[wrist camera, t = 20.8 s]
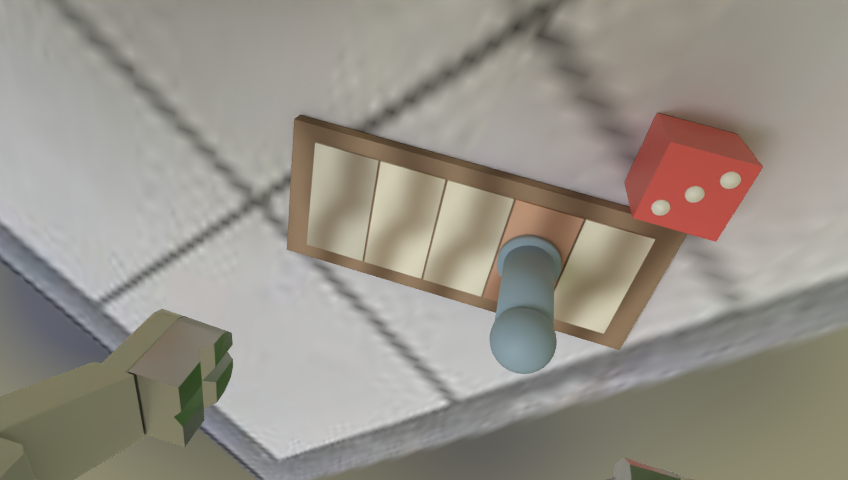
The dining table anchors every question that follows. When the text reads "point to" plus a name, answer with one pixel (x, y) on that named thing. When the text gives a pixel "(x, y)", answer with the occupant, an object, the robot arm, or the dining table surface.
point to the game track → (467, 228)
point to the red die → (690, 177)
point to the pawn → (526, 304)
